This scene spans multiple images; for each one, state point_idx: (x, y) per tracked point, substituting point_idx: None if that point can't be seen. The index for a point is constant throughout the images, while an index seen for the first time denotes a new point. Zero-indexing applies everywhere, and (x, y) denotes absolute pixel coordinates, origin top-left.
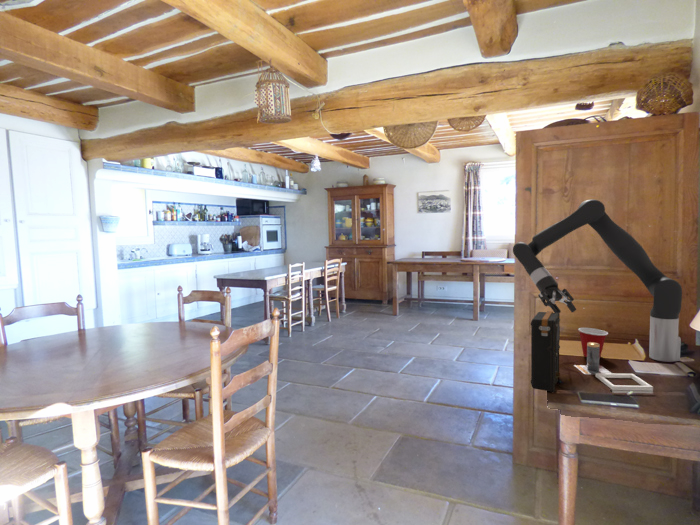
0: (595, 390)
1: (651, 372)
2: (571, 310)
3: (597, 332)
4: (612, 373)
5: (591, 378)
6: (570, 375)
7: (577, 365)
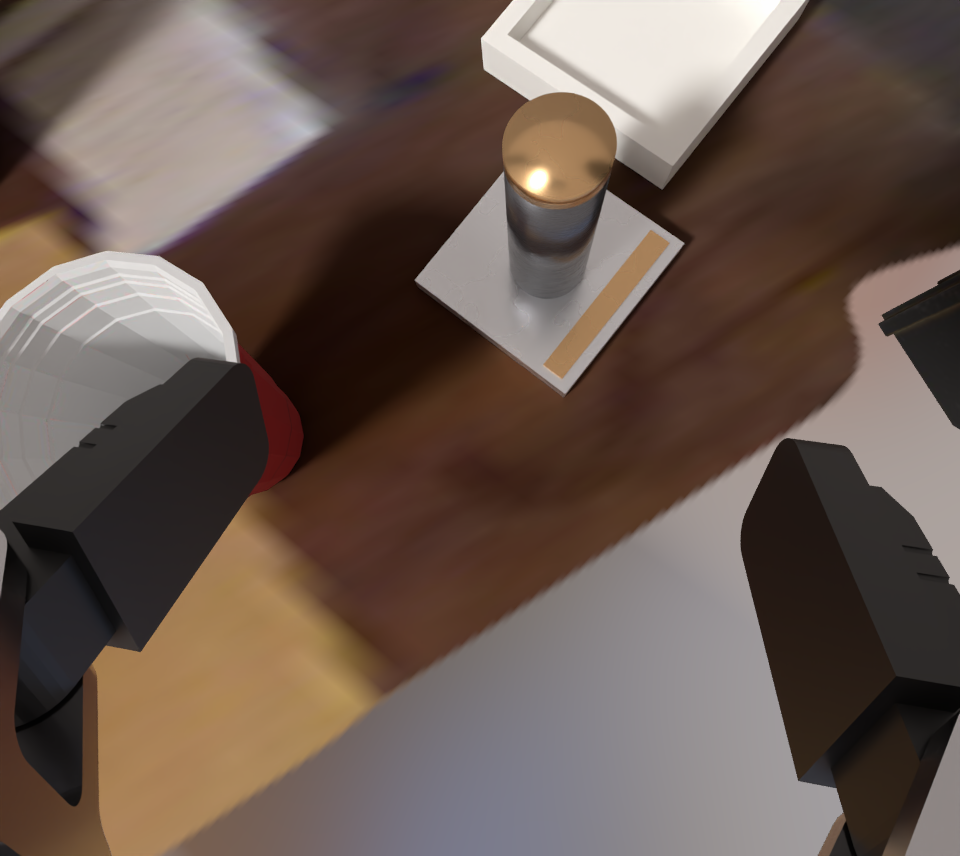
0: (848, 89)
1: (262, 75)
2: (245, 469)
3: (4, 419)
4: None
5: (668, 212)
6: (732, 320)
7: (556, 368)
